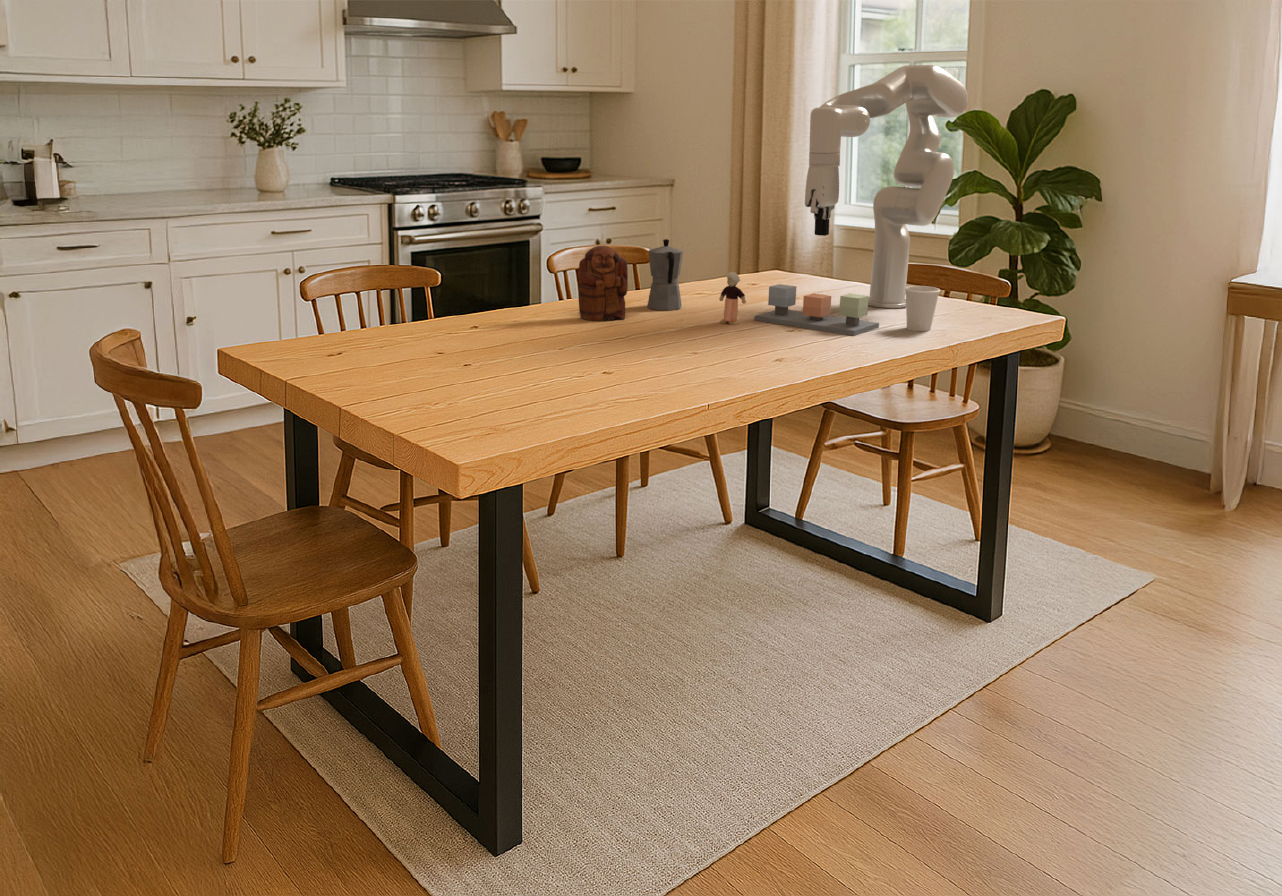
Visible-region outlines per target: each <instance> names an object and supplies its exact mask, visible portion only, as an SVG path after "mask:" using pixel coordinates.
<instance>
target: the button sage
mask: <svg viewBox="0 0 1282 896" xmlns="http://www.w3.org/2000/svg"><path fill="white" fill-rule="evenodd" d="M869 297H870V295H865V294H858V293H857V294H856V293H847V294H843V295H840V298H839V308H838V309H839V311H838V316H840V317H846V316H848V317H854V318H859V317H860V318H863V317H865V316H868V311H869V310H868V309H869V308H868V307H869V305H868V298H869Z"/></svg>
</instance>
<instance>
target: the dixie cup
mask: <svg viewBox="0 0 1282 896" xmlns="http://www.w3.org/2000/svg"><path fill="white" fill-rule="evenodd" d="M905 290H906V294H905V299H906V307H905V308H906V309H905V310H906V312H905V313H906V329H907V330H908V331H915V332H929V331H932V330H931V328H932V324H933V321H934V317H935V311H936V306H937V303H938V299H939V294H940V292H941V289H940V288H938V287H935V286H927V285H909V286H908V285H907V286H906V288H905Z"/></svg>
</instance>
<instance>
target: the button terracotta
mask: <svg viewBox="0 0 1282 896" xmlns="http://www.w3.org/2000/svg"><path fill="white" fill-rule="evenodd" d="M802 302H803V303H802V312H803V315H808V316H814V317H823V316H827V315H828V316H831V308H832V295H829V294H828V295H827V294H820V293H809V294H806V295H803V301H802Z"/></svg>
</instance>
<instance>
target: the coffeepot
mask: <svg viewBox="0 0 1282 896" xmlns="http://www.w3.org/2000/svg"><path fill="white" fill-rule="evenodd" d="M662 241H663V246H659V247H654V248H650V249H649V250H647V252H648V261H649V262H648V263H649V268H650V270H649V271H650V276H651V277H652V282H651V285H650V291H649V295H648V302H647V307H646V308H648V309H650V310H654V311H663V312H665V311H667V312H669V311H671V312H673V311H679V310H681V308H682V307H683V305H682V300H681V292H680V284H679V277H680V275H681V268H682V263H683V257H684V251H685V250H683V249H679V248H676V247H672V246H669V244H670V239H667V238H666V239H663V240H662Z"/></svg>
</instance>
